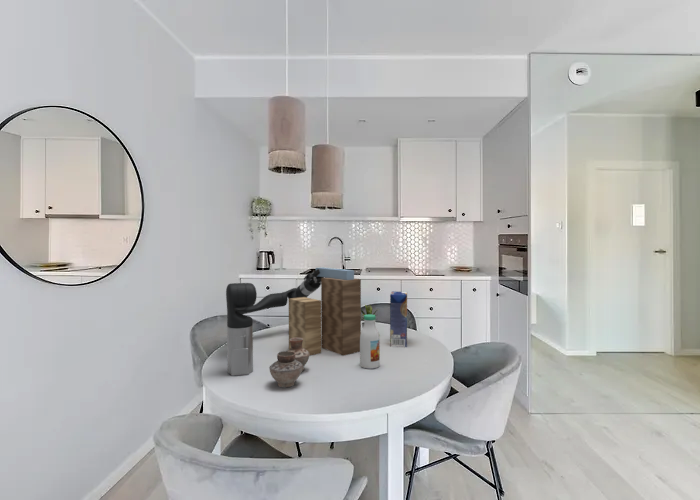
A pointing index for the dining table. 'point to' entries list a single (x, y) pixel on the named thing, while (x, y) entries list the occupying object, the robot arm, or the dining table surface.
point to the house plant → (367, 312)
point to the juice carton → (398, 319)
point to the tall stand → (341, 315)
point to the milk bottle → (369, 343)
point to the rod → (336, 273)
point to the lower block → (306, 323)
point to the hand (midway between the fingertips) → (326, 270)
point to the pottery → (289, 363)
